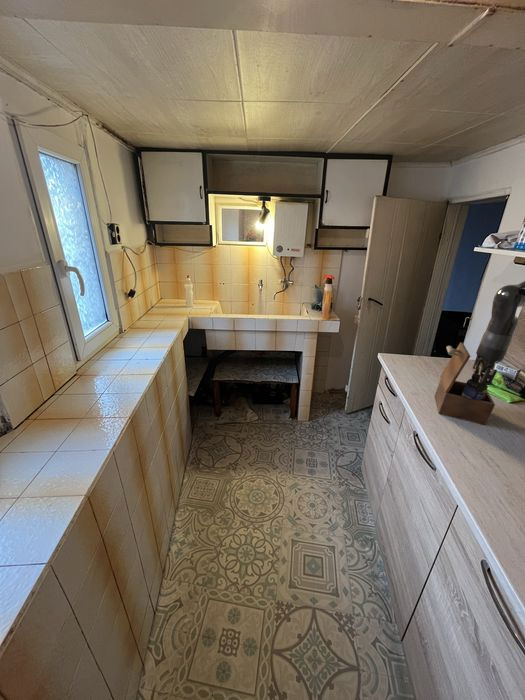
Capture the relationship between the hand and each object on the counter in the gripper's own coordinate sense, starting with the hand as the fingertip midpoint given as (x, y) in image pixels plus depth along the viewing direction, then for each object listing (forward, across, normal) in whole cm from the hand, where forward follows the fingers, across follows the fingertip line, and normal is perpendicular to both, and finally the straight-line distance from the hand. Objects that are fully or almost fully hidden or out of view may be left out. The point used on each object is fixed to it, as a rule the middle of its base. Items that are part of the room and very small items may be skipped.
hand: (476, 386), depth 101 cm
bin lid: (-6, 0, +8) cm, 10 cm away
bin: (+11, 0, +2) cm, 11 cm away
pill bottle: (+7, 0, 0) cm, 7 cm away
